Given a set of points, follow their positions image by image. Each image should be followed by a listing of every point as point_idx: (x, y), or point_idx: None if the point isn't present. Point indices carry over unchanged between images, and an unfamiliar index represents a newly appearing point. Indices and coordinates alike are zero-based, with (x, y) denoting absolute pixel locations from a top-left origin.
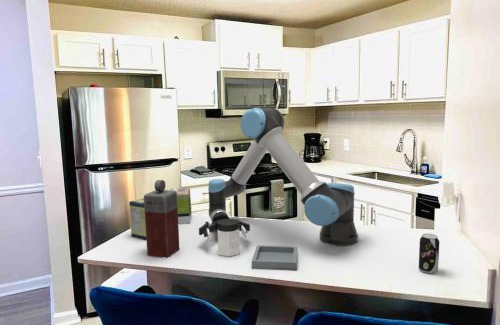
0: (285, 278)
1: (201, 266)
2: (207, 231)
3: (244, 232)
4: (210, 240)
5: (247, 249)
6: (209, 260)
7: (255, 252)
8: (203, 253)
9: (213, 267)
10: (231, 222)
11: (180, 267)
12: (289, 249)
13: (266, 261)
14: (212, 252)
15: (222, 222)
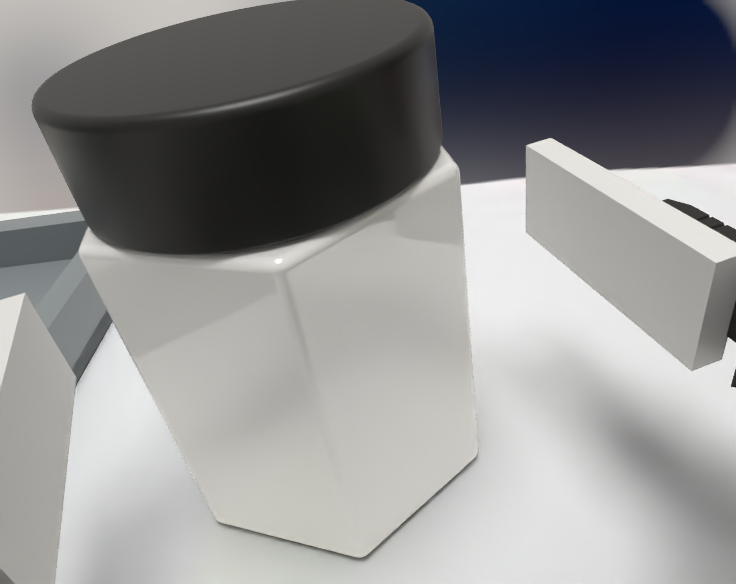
0: (7, 215)
1: (494, 205)
2: (630, 183)
3: (34, 313)
4: (526, 226)
5: (105, 554)
6: (478, 271)
7: (61, 298)
8: (622, 364)
9: None
10: (177, 42)
11: (632, 173)
12: None
13: (38, 217)
14: (533, 402)
15: (328, 15)
